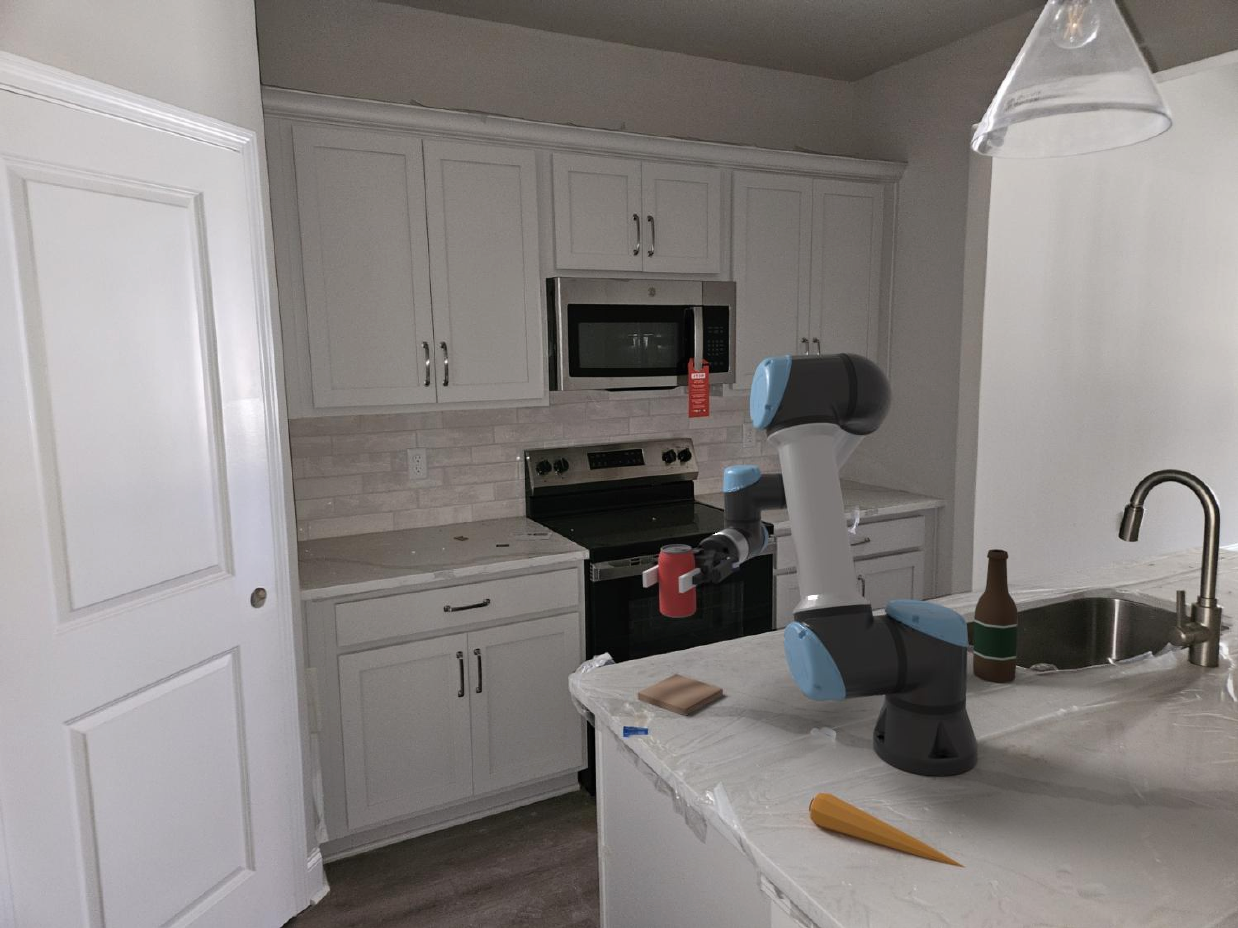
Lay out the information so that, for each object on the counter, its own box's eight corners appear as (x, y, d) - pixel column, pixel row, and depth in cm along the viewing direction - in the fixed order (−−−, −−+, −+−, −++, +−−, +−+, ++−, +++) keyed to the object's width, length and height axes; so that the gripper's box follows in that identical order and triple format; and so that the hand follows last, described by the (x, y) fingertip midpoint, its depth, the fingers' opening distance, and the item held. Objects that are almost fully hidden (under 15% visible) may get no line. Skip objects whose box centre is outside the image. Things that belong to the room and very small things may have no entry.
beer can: (694, 619, 144) (692, 552, 142) (657, 618, 145) (654, 552, 143) (698, 607, 150) (696, 543, 149) (662, 606, 152) (660, 543, 150)
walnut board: (722, 694, 150) (722, 688, 150) (685, 715, 142) (684, 709, 142) (676, 679, 158) (676, 673, 157) (638, 698, 150) (637, 692, 150)
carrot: (806, 828, 110) (803, 807, 108) (819, 802, 113) (817, 781, 111) (962, 895, 98) (963, 872, 96) (972, 864, 101) (974, 841, 99)
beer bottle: (984, 664, 159) (987, 543, 156) (1024, 675, 153) (1029, 550, 150) (964, 675, 155) (966, 551, 151) (1005, 687, 149) (1009, 558, 145)
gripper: (768, 576, 157) (713, 611, 138) (679, 564, 167) (616, 595, 148) (767, 538, 156) (712, 568, 137) (678, 528, 166) (615, 555, 147)
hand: (662, 582), depth 143 cm, fingers closed on beer can, 6 cm apart
